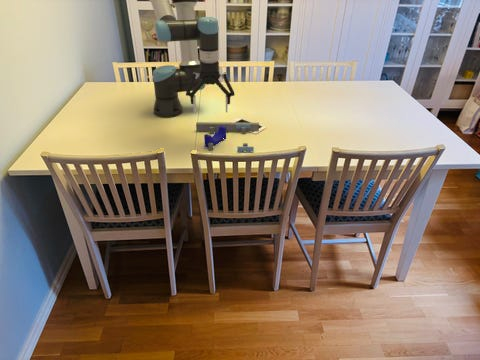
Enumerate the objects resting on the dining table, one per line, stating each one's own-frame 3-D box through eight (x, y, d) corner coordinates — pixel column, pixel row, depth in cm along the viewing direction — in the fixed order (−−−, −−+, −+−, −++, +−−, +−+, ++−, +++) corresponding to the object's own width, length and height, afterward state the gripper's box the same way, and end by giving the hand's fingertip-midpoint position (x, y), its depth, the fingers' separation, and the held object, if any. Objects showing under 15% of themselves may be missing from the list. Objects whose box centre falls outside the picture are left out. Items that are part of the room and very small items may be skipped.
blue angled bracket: (218, 136, 158) (218, 124, 155) (226, 139, 156) (226, 127, 153) (202, 146, 150) (201, 134, 147) (210, 149, 148) (209, 137, 145)
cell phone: (238, 118, 175) (238, 117, 175) (266, 129, 166) (266, 127, 166) (227, 124, 170) (227, 122, 169) (255, 135, 160) (255, 133, 160)
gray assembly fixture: (193, 152, 145) (192, 144, 143) (196, 129, 163) (196, 122, 160) (262, 152, 146) (263, 144, 144) (258, 130, 164) (258, 122, 162)
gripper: (176, 63, 130) (180, 114, 141) (241, 63, 131) (239, 114, 143) (178, 57, 136) (182, 107, 148) (240, 58, 137) (239, 107, 149)
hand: (210, 111), depth 145 cm, fingers open, 13 cm apart
